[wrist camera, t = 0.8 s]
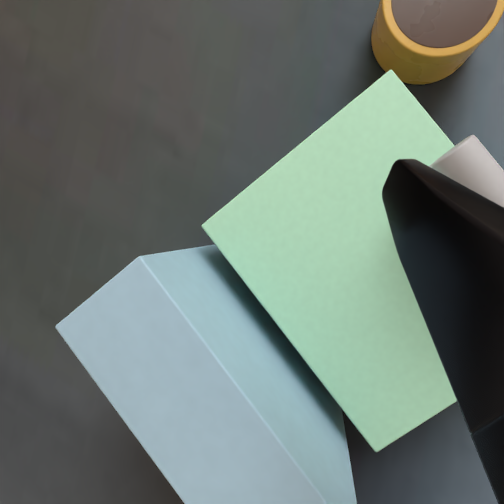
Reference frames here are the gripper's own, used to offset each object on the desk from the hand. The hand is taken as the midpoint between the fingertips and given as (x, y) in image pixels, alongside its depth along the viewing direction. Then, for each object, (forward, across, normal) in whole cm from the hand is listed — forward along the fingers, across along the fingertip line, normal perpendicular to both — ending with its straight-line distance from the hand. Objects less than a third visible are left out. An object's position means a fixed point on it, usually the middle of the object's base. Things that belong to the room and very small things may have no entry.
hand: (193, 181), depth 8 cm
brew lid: (+4, -9, +8) cm, 12 cm away
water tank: (+4, -3, +16) cm, 17 cm away
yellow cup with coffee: (+14, -13, +2) cm, 20 cm away
